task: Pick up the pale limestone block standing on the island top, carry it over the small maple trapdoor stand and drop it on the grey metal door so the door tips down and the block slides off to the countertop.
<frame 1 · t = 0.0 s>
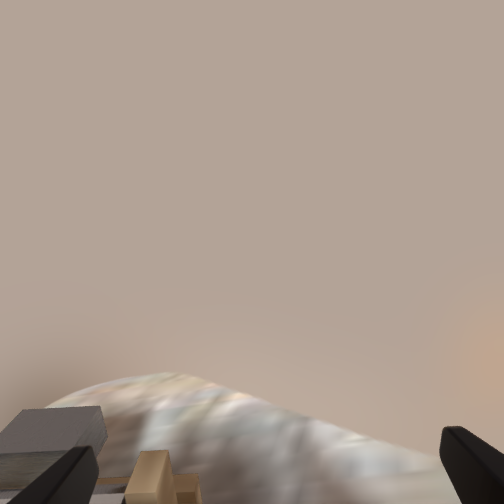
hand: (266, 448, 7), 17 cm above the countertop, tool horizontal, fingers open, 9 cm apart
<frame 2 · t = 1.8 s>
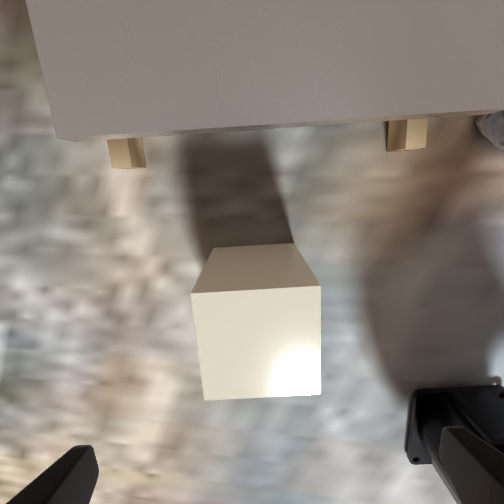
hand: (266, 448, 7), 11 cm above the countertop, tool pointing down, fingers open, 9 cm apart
trapdoor stand: (260, 49, 15), on the countertop
limestone block: (255, 282, 18), on the countertop
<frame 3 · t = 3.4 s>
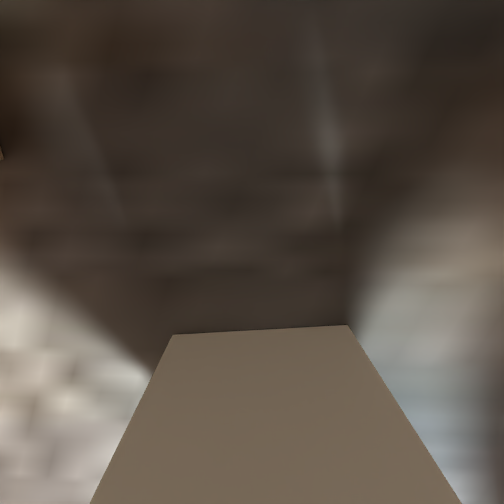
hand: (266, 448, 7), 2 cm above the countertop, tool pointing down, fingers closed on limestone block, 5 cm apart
limestone block: (264, 402, 9), on the countertop, touching gripper
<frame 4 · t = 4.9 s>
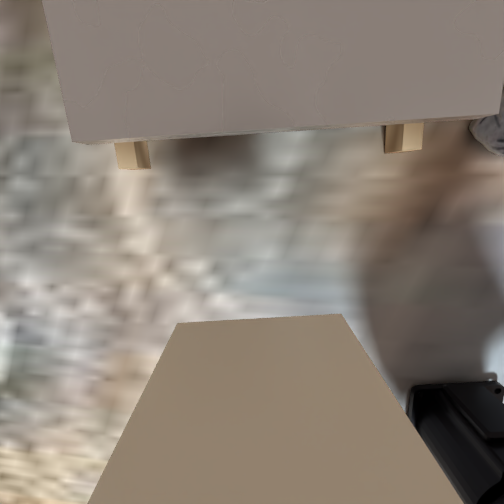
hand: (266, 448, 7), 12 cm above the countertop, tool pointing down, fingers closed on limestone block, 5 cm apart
trapdoor stand: (262, 54, 15), on the countertop
limestone block: (263, 387, 9), point 10 cm above the countertop, touching gripper
when the fingers open (12 cm above the countertop, at t = 6.5 s): limestone block drops 4 cm, resting on trapdoor.
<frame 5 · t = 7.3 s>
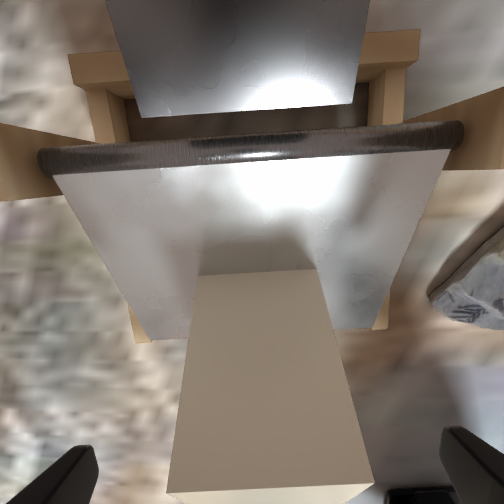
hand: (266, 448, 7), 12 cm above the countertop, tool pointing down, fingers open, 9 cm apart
trapdoor stand: (255, 243, 18), on the countertop
trapdoor: (253, 221, 11), point 7 cm above the countertop, hinge at -28.1°, touching limestone block
limestone block: (259, 307, 14), point 5 cm above the countertop, tilted 28°, touching trapdoor
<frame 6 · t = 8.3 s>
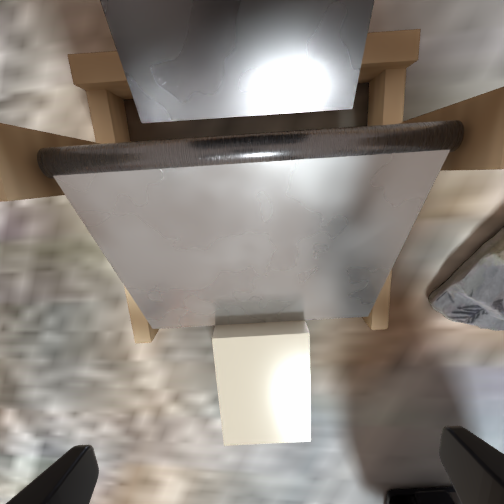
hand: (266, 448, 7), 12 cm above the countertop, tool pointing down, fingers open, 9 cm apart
trapdoor stand: (255, 243, 18), on the countertop
trapdoor: (253, 218, 11), point 7 cm above the countertop, hinge at -32.0°, touching limestone block
limestone block: (259, 312, 17), point 2 cm above the countertop, tilted 90°, touching trapdoor
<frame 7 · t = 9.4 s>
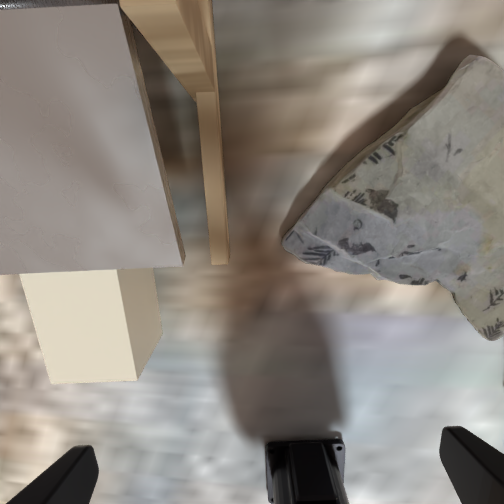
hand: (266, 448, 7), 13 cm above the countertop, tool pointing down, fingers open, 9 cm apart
trapdoor stand: (99, 177, 18), on the countertop
fossil rock: (445, 223, 19), on the countertop
limestone block: (93, 253, 17), point 2 cm above the countertop, tilted 90°
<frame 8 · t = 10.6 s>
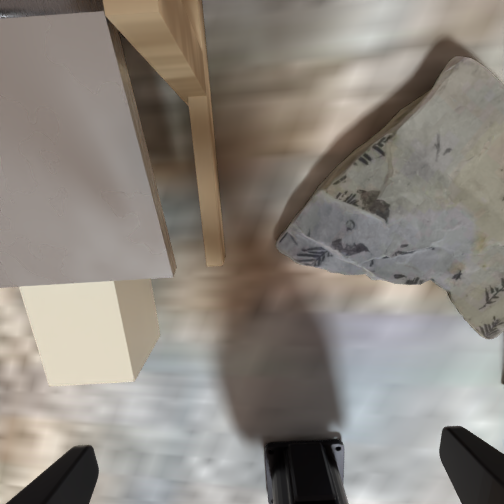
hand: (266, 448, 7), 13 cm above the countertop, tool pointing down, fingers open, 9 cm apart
trapdoor stand: (95, 181, 18), on the countertop
fossil rock: (438, 222, 20), on the countertop
limestone block: (89, 256, 17), point 2 cm above the countertop, tilted 90°
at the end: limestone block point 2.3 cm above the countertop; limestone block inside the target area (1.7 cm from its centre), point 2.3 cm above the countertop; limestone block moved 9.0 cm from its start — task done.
